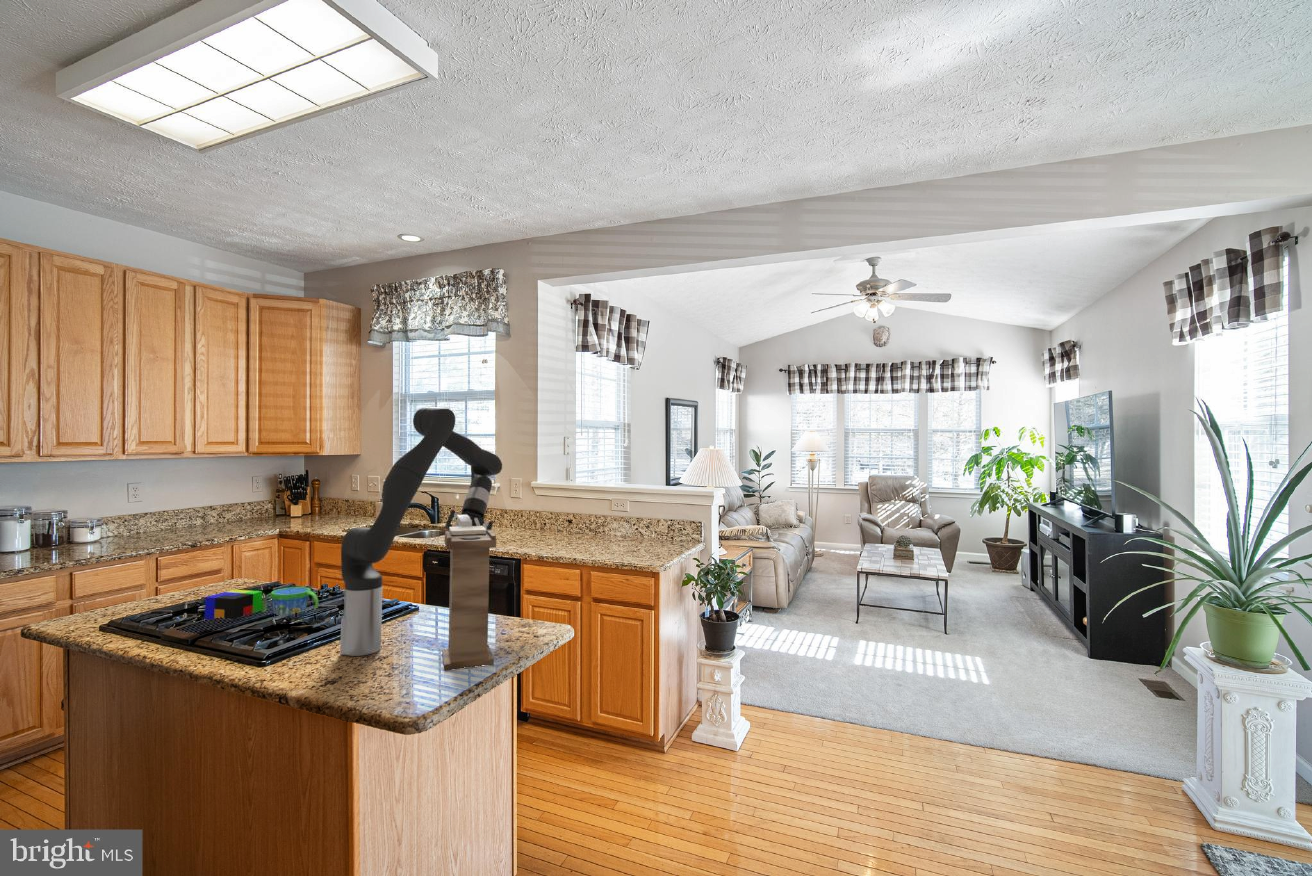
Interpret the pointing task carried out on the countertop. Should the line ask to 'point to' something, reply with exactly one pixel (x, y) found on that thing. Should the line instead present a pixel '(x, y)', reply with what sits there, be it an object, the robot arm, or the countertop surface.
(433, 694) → the countertop surface
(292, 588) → the snack cup
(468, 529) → the slide cover
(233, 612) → the puzzle toy
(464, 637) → the stand
